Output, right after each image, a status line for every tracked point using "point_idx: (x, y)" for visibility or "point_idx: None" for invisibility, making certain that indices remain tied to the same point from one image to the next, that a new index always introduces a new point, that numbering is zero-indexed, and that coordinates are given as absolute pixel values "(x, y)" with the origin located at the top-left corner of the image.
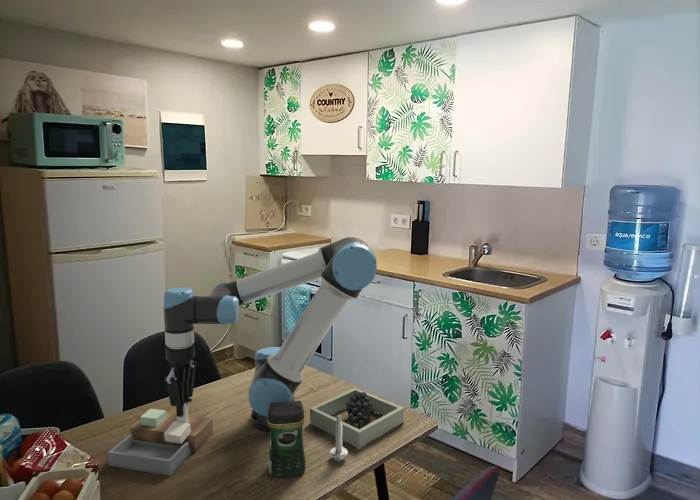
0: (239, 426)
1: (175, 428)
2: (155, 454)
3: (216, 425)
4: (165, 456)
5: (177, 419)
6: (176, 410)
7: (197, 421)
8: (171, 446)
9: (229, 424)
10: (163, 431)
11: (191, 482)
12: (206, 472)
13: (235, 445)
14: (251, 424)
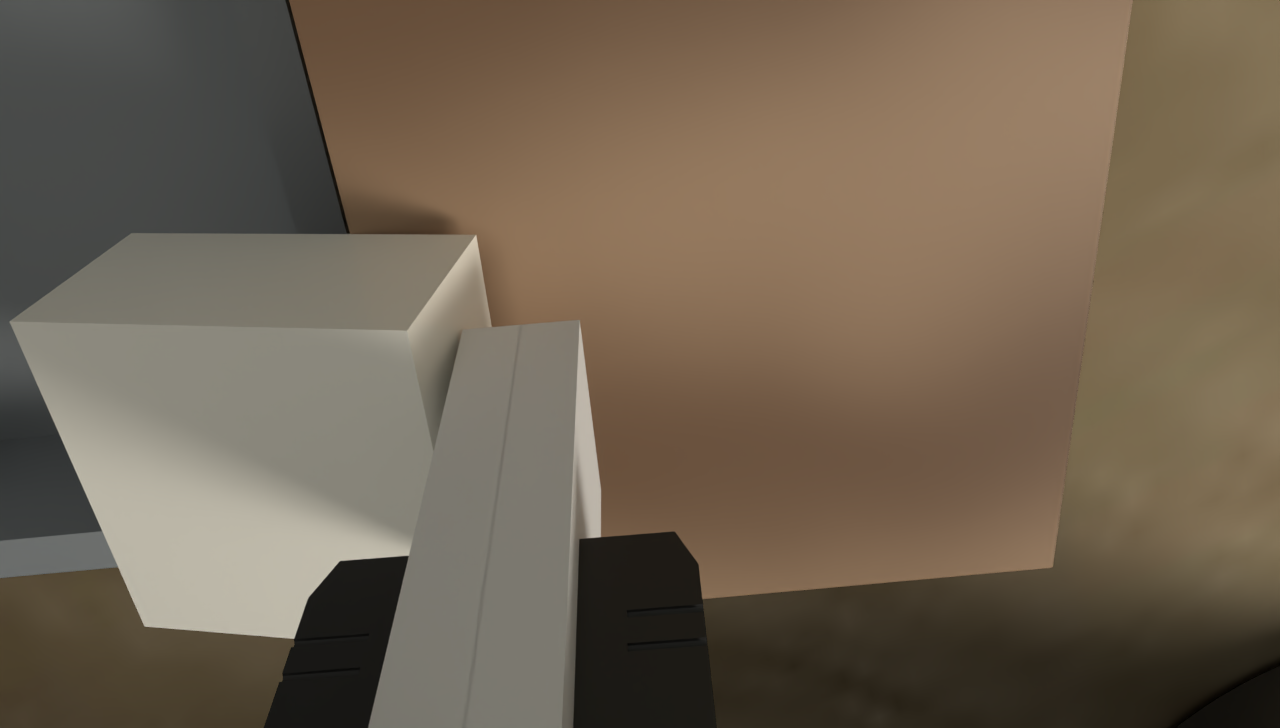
0: (1212, 578)
1: (246, 469)
2: (91, 10)
3: (1225, 317)
4: (143, 200)
5: (447, 427)
6: (272, 713)
7: (904, 412)
8: (299, 211)
9: (1261, 456)
10: (313, 28)
11: (12, 681)
12: (226, 710)
13: (780, 713)
14: (1250, 683)
